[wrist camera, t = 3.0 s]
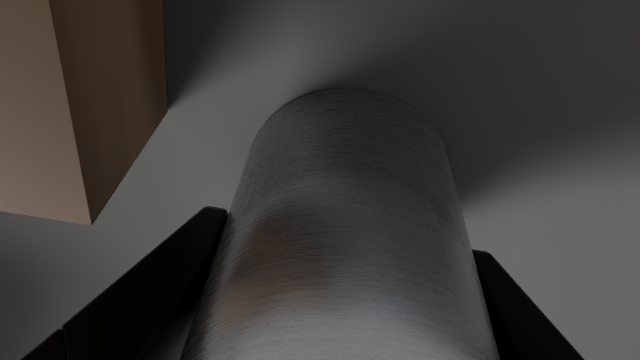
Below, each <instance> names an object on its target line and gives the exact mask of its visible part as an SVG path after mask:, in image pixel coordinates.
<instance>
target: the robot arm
mask: <svg viewBox="0 0 640 360" xmlns="http://www.w3.org/2000/svg"><path fill="white" fill-rule="evenodd" d="M227 217H228V212H227V210H226V209H223V208H216V207H210V206H207V207H204V208H203V209H202V210H200V211H199V212H198V213H197V214H196V215H194V216H193V217H192V218H191V219H189V220H188V221H187V222H186V223H185V224H183V225H182V226H181V227H180V228H179V229H177V230H176V231H175V232H174V233H173V234H171V235H170V236H169V237H168V238H167V239H165V240H164V241H163V242H162V243H161V244H159V245H158V246H157V247H156V248H155V249H153V250H152V251H151V252H150V253H149V254H147V255H146V256H145V257H144V258H143V259H141V260H140V261H139V262H138V263H137V264H135V265H134V266H133V267H132V268H131V269H129V270H128V271H127V272H126V273H125V274H123V275H122V276H121V277H120V278H119V279H117V280H116V281H115V282H114V283H113V284H111V285H110V286H109V287H108V288H107V289H105V290H104V291H103V292H102V293H101V294H99V295H98V296H97V297H96V298H95V299H93V300H92V301H91V302H90V303H89V304H87V305H86V306H85V307H84V308H83V309H81V310H80V311H79V312H78V313H77V314H75V315H74V316H73V317H72V318H71V319H69V320H68V321H67V322H66V323H65V324H63V325H62V330H61V329H57V330H56V331H55V332H54V333H52V334H51V335H50V336H49V337H48V338H46V339H45V340H44V341H43V342H42V343H40V344H39V345H38V346H37V347H35V348H34V349H33V350H32V351H30V352H29V353H28V354H27V355H25V356H24V357H23V358H22V359H20V360H180V357H181V354H182V351H183V348H184V345H185V342H186V339H187V336H188V333H189V330H190V327H191V324H192V321H193V318H194V315H195V312H196V309H197V306H198V303H199V300H200V298H201V295H202V292H203V289H204V286H205V283H206V280H207V277H208V274H209V271H210V268H211V265H212V262H213V259H214V256H215V253H216V250H217V247H218V244H219V241H220V238H221V235H222V232H223V229H224V226H225V223H226V220H227ZM472 252H473V256H474V260H475V264H476V267H477V271H478V275H479V279H480V283H481V287H482V291H483V295H484V299H485V302H486V306H487V310H488V314H489V318H490V322H491V326H492V330H493V333H494V337H495V341H496V345H497V349H498V353H499V357H500V360H584V359H583V357H582V356H581V355H580V354H579V353H578V352H577V351H576V350H575V348H574V347H573V346H572V345H571V344H570V343H569V342H568V341H567V339H566V338H565V337H564V336H563V335H562V334H561V333H560V332H559V330H558V329H557V328H556V327H555V326H554V325H553V324H552V322H551V321H550V320H549V319H548V318H547V317H546V316H545V315H544V313H543V312H542V311H541V310H540V309H539V308H538V307H537V306H536V304H535V303H534V302H533V301H532V300H531V299H530V298H529V297H528V295H527V294H526V293H525V292H524V291H523V290H522V289H521V288H520V286H519V285H518V284H517V283H516V282H515V281H514V280H513V278H512V277H511V276H510V275H509V274H508V273H507V272H506V271H505V269H504V268H503V267H502V266H501V265H500V264H499V263H498V262H497V260H496V259H495V258H494V257H493V256H492V255H491V254H490V253H488V252H486V251H480V250H474V249H472Z"/></svg>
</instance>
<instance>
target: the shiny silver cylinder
mask: <svg viewBox="0 0 640 360" xmlns="http://www.w3.org/2000/svg"><path fill="white" fill-rule="evenodd" d="M180 360H500V357H499V353H498V349H497V345H496V341H495V337H494V333H493V330H492V326H491V322H490V318H489V314H488V310H487V306H486V302H485V299H484V295H483V291H482V287H481V283H480V279H479V275H478V271H477V267H476V264H475V260H474V256H473V252H472V248H471V244H470V240H469V236H468V233H467V229H466V225H465V221H464V217H463V213H462V209H461V205H460V201H459V198H458V194H457V190H456V186H455V182H454V178H453V174H452V170H451V167H450V163H449V159H448V155H447V152H446V149H445V146H444V143H443V141H442V139H441V138H440V136H439V134H438V132H437V131H436V130H435V128H434V127H433V126H432V125H431V123H430V122H429V121H428V120H427V119H426V118H425V117H424V116H423V115H422V114H421V113H419V112H418V111H416V110H415V109H414V108H412V107H411V106H409V105H408V104H406V103H404V102H402V101H400V100H398V99H396V98H393V97H391V96H388V95H385V94H383V93H378V92H374V91H370V90H363V89H355V88H339V89H331V90H323V91H319V92H315V93H311V94H308V95H306V96H303V97H301V98H298V99H296V100H294V101H292V102H290V103H288V104H287V105H285V106H283V107H282V108H281V109H279V110H278V111H277V112H275V113H274V114H273V115H272V116H271V117H270V118H269V119H268V120H267V121H266V122H265V123H264V125H263V126H262V127H261V129H260V130H259V131H258V133H257V135H256V137H255V139H254V141H253V143H252V146H251V149H250V152H249V155H248V158H247V161H246V164H245V167H244V170H243V173H242V176H241V179H240V182H239V185H238V188H237V190H236V193H235V196H234V199H233V202H232V205H231V208H230V211H229V214H228V217H227V220H226V223H225V226H224V229H223V232H222V235H221V238H220V241H219V244H218V247H217V250H216V253H215V256H214V259H213V262H212V265H211V268H210V271H209V274H208V277H207V280H206V283H205V286H204V289H203V292H202V295H201V298H200V300H199V303H198V306H197V309H196V312H195V315H194V318H193V321H192V324H191V327H190V330H189V333H188V336H187V339H186V342H185V345H184V348H183V351H182V354H181V357H180Z"/></svg>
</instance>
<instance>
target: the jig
mask: <svg viewBox="0 0 640 360" xmlns="http://www.w3.org/2000/svg"><path fill="white" fill-rule="evenodd" d="M167 112H168V109H167V87H166V65H165V44H164V22H163V0H0V211H2V212H9V213H15V214H21V215H27V216H34V217H40V218H46V219H52V220H58V221H65V222H71V223H77V224H83V225H89V226H92V225H93V223H94V222H95V220H96V219H97V217H98V216H99V214H100V213H101V211H102V210H103V208H104V207H105V205H106V204H107V202H108V201H109V199H110V198H111V196H112V195H113V193H114V192H115V190H116V188H117V187H118V185H119V184H120V182H121V181H122V179H123V178H124V176H125V175H126V173H127V172H128V170H129V169H130V167H131V166H132V164H133V163H134V161H135V160H136V158H137V157H138V155H139V154H140V152H141V151H142V149H143V148H144V146H145V145H146V143H147V142H148V140H149V139H150V137H151V136H152V134H153V133H154V131H155V130H156V128H157V127H158V125H159V124H160V122H161V121H162V119H163V118H164V116H165V115H166V113H167Z"/></svg>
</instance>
